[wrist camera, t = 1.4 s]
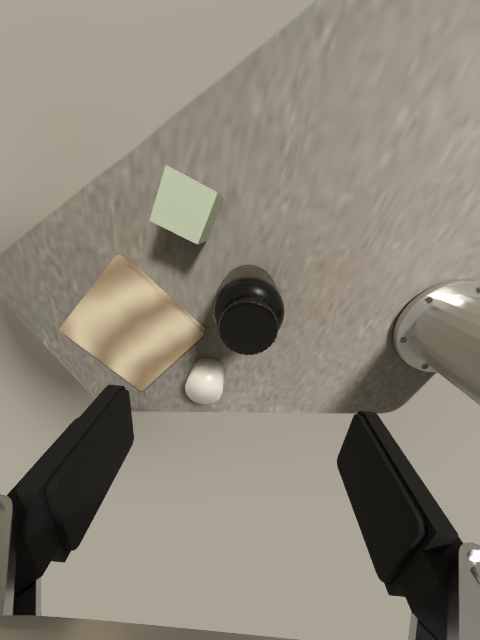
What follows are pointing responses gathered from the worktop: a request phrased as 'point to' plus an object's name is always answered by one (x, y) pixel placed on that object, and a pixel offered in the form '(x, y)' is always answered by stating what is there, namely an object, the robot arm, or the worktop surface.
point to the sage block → (185, 206)
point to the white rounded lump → (205, 381)
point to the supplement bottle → (248, 310)
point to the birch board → (131, 324)
